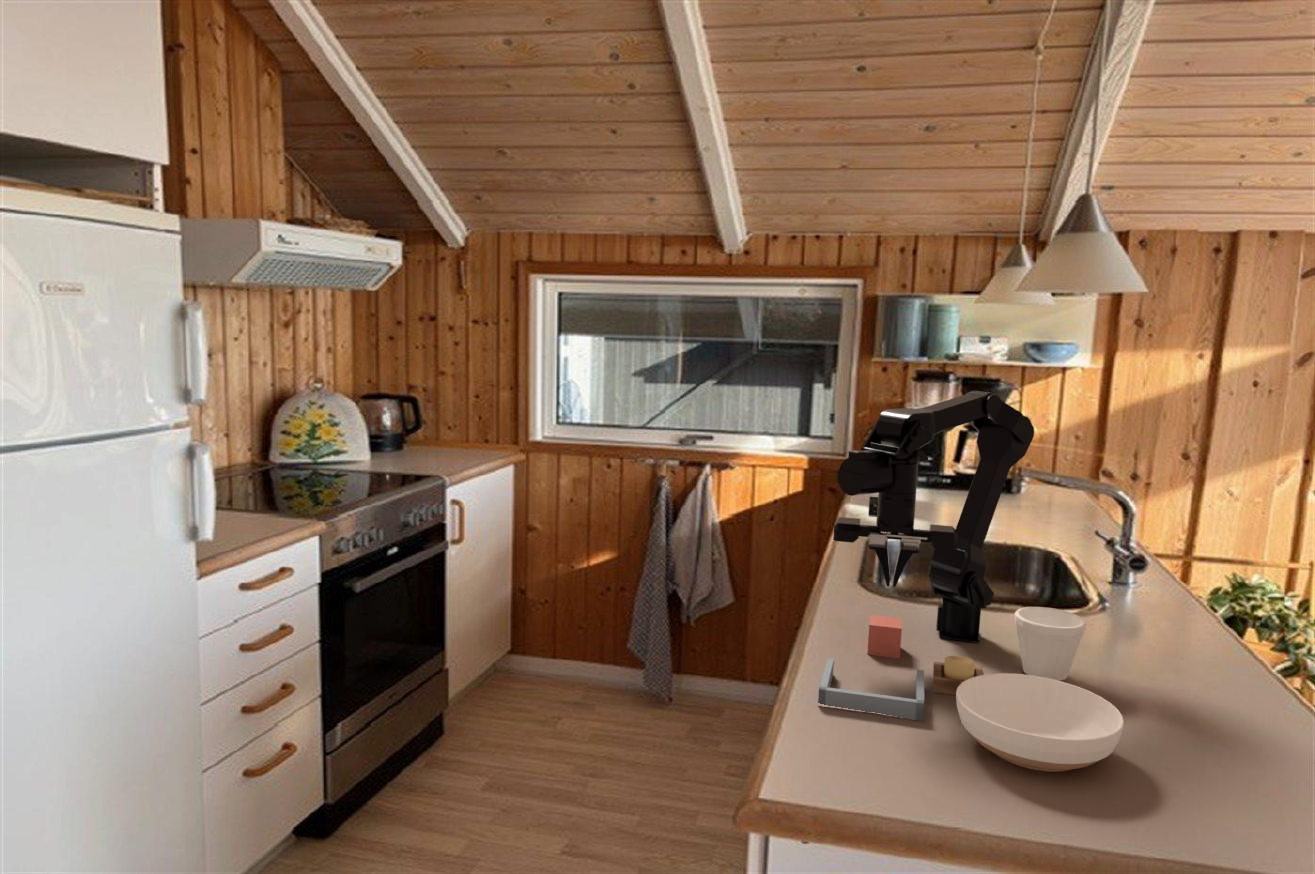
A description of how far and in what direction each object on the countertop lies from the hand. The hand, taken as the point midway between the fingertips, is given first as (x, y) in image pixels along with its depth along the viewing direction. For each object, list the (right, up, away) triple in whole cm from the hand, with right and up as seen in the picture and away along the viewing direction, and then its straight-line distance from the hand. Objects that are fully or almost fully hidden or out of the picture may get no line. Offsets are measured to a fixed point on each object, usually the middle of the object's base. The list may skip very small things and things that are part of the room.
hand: (891, 586), depth 147 cm
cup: (+22, -13, -6) cm, 26 cm away
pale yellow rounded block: (+7, -12, -11) cm, 18 cm away
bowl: (+10, -16, -30) cm, 36 cm away
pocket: (-7, -13, -16) cm, 22 cm away
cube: (-1, -11, +2) cm, 11 cm away
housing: (+7, -13, -11) cm, 18 cm away
